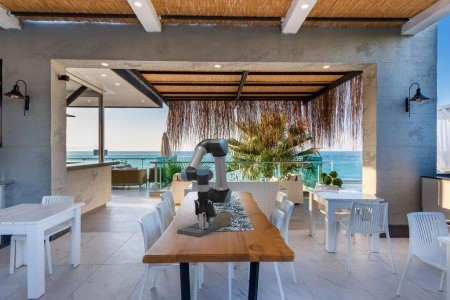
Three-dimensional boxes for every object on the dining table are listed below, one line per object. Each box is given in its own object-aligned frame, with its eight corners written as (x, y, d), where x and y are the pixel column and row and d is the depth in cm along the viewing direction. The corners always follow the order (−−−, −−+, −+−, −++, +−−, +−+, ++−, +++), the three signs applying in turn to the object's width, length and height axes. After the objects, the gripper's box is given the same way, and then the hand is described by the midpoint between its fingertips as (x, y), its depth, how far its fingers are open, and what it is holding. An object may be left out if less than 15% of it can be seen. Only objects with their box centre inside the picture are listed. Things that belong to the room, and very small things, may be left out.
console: (177, 233, 216) (177, 225, 216) (199, 226, 236) (199, 219, 236) (199, 237, 206) (199, 229, 206) (220, 229, 227) (220, 221, 227)
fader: (198, 228, 216) (198, 213, 215) (203, 227, 220) (203, 212, 220) (203, 229, 214) (203, 214, 214) (208, 227, 218) (208, 212, 218)
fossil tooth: (211, 227, 238) (232, 224, 239) (212, 228, 232) (233, 226, 233) (209, 211, 238) (230, 208, 240) (210, 212, 232) (231, 209, 234)
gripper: (189, 190, 218) (189, 226, 218) (210, 192, 209) (211, 229, 209) (196, 189, 225) (196, 223, 225) (217, 191, 215) (217, 226, 215)
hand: (203, 226), depth 217 cm, fingers open, 4 cm apart
